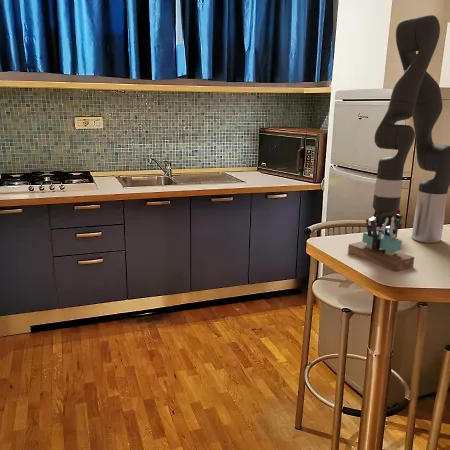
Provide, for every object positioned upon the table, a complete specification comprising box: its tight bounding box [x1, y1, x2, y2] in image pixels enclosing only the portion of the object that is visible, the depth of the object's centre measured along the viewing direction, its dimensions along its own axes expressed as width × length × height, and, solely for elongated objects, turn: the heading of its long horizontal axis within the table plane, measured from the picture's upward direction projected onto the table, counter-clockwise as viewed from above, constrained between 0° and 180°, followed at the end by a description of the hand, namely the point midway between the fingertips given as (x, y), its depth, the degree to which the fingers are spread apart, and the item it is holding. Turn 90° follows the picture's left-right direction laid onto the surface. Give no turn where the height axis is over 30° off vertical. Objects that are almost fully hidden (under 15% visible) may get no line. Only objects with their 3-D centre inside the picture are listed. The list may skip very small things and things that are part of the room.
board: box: [347, 240, 415, 272], centre depth 137 cm, size 8×18×3 cm, turn 32°
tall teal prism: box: [361, 231, 403, 256], centre depth 137 cm, size 4×11×7 cm, turn 32°
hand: (380, 248), depth 137 cm, fingers closed on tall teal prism, 4 cm apart
